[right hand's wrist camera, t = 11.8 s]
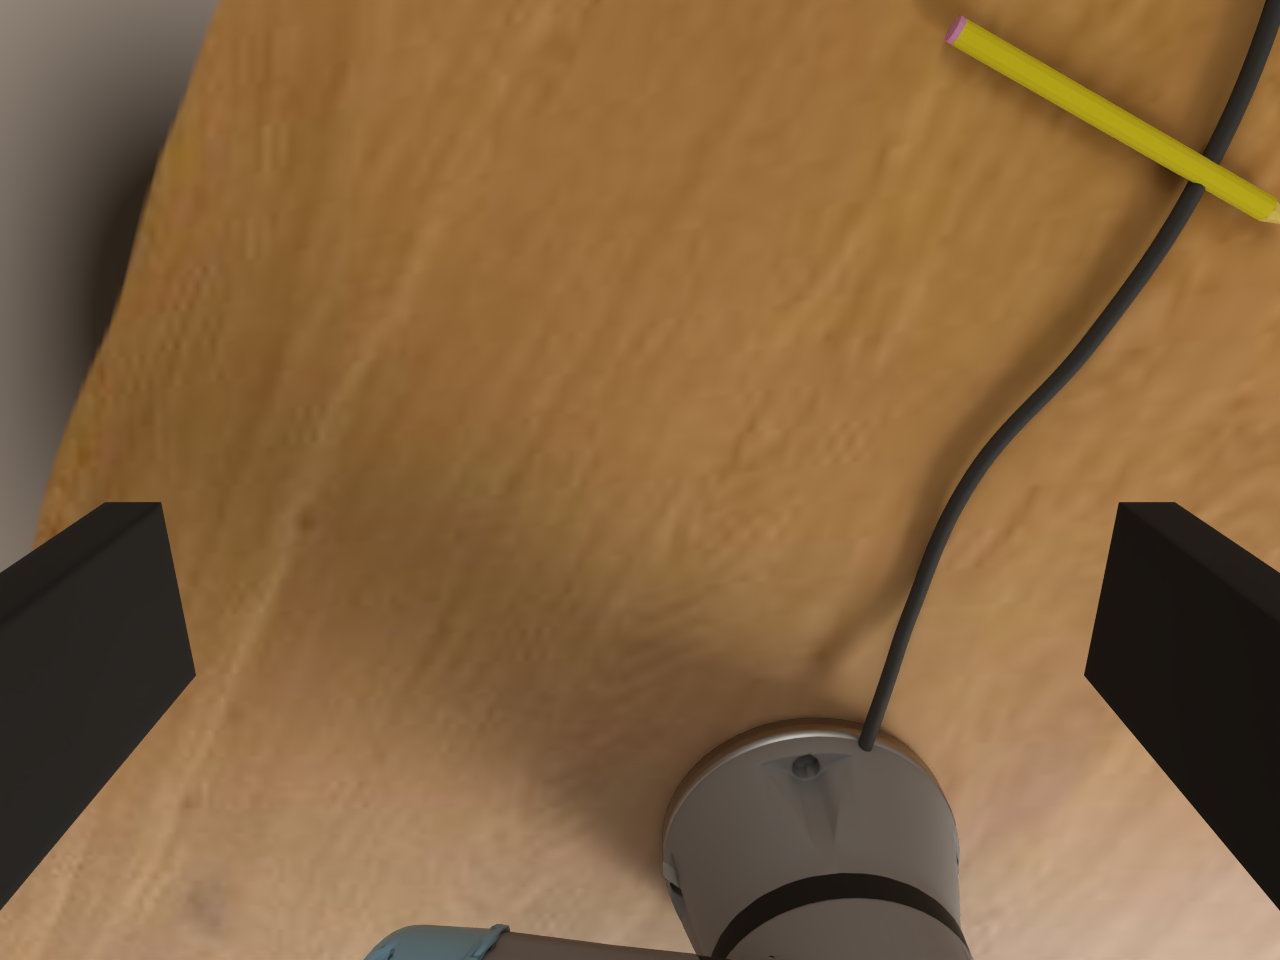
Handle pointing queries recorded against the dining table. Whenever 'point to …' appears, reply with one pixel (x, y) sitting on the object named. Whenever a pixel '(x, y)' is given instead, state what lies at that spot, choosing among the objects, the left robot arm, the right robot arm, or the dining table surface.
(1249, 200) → the pencil
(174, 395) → the dining table surface
